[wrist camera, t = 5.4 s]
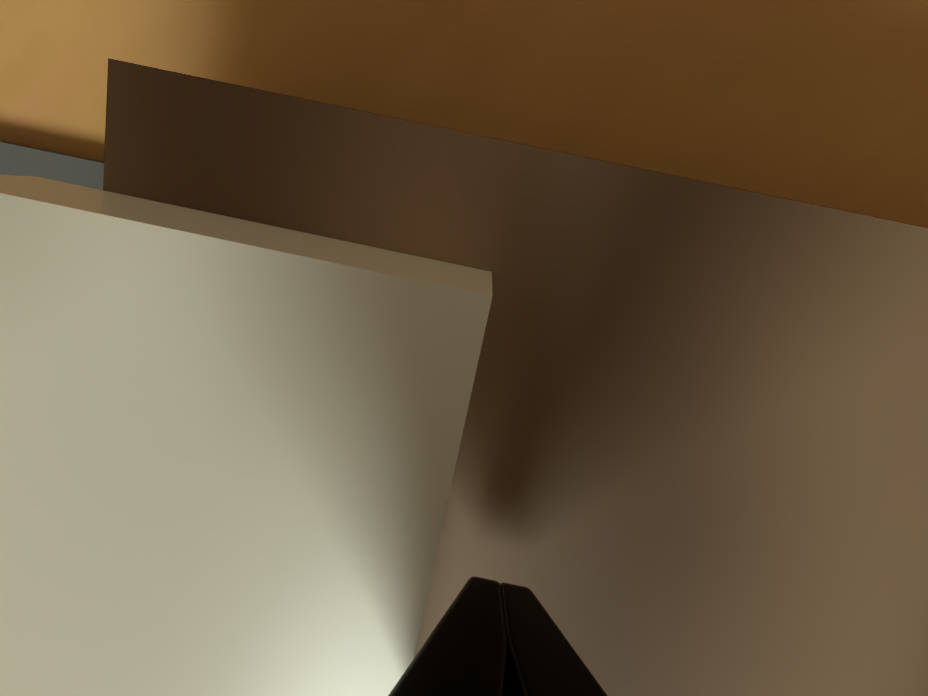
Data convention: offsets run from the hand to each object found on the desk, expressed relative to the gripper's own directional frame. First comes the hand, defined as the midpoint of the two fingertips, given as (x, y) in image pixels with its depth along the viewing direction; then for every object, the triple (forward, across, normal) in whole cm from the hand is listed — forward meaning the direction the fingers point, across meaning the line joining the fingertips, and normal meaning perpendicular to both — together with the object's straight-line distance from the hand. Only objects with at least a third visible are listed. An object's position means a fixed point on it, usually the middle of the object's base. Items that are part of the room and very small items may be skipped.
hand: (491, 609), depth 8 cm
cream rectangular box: (+1, +4, 0) cm, 4 cm away
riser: (+5, -2, 0) cm, 5 cm away
